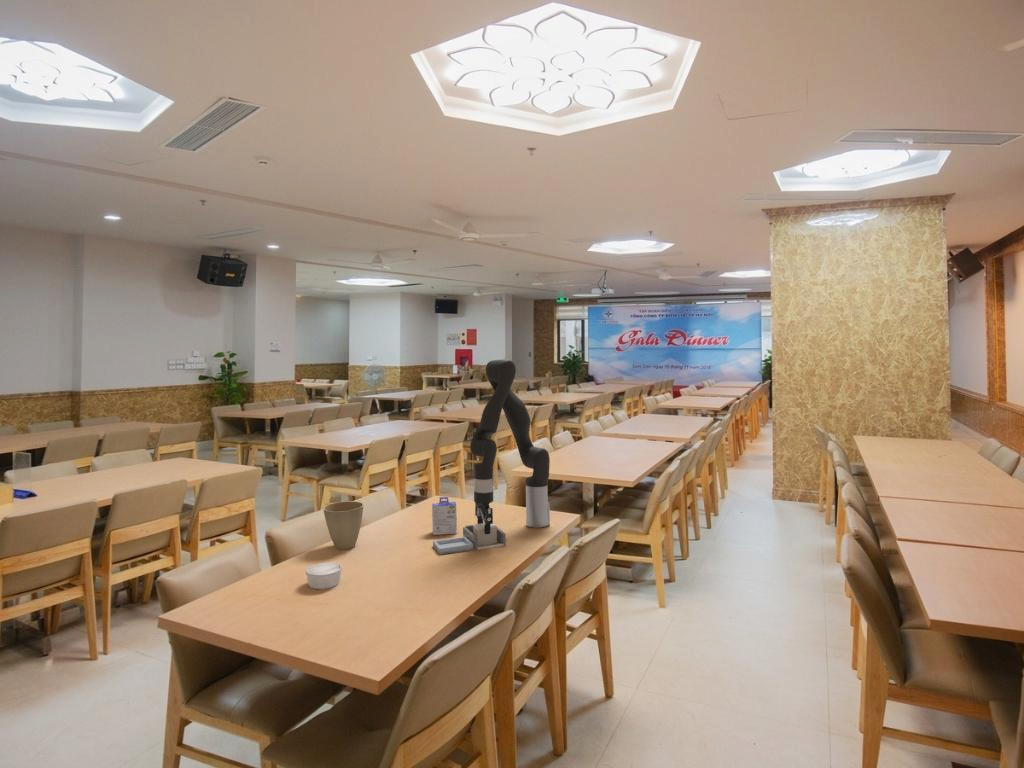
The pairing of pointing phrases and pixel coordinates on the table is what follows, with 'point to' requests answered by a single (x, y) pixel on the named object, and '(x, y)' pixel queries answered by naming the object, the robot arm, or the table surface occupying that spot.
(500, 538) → the frame
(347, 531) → the plant pot
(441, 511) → the ink cartridge box
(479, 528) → the tall cream box
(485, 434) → the robot arm
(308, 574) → the ramekin
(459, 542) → the tray
